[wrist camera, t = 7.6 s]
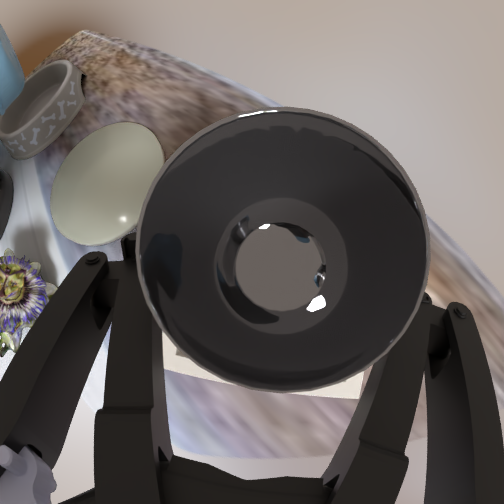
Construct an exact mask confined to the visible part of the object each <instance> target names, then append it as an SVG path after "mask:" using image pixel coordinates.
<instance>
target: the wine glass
mask: <svg viewBox="0 0 504 504" xmlns="http://www.w3.org/2000/svg"><path fill="white" fill-rule="evenodd" d="M135 252H136V262H137V270H138V277H139V281H140V284H141V287H142V291H143V294H144V297H145V300H146V303H147V305H148V307H149V308H150V310H151V312H152V314H153V316H154V318H155V320H156V322H157V323H158V325H159V327H160V328H161V329H162V331H163V332H164V333H165V334H166V336H167V337H168V338H169V339H170V341H171V342H172V343H173V344H174V345H175V347H176V348H177V349H178V350H180V351H181V352H182V353H183V354H184V355H185V356H187V357H188V358H189V359H190V360H191V361H193V362H194V363H195V364H196V365H197V366H199V367H200V368H202V369H204V370H206V371H207V372H209V373H211V374H213V375H215V376H216V377H218V378H220V379H222V380H224V381H227V382H230V383H233V384H236V385H239V386H242V387H245V388H248V389H251V390H258V391H266V392H274V393H294V392H306V391H313V390H317V389H321V388H324V387H328V386H332V385H335V384H338V383H341V382H343V381H345V380H347V379H349V378H351V377H353V376H355V375H357V374H359V373H361V372H363V371H365V370H366V369H367V368H369V367H370V366H371V365H373V364H374V363H375V362H376V361H378V360H379V359H380V358H382V357H383V356H384V355H385V354H387V353H388V351H389V350H390V349H391V348H392V347H393V346H394V345H395V344H396V342H397V341H398V340H399V339H400V338H401V337H402V335H403V334H404V333H405V331H406V330H407V328H408V326H409V325H410V323H411V321H412V320H413V318H414V316H415V314H416V312H417V311H418V309H419V306H420V303H421V300H422V297H423V295H424V292H425V289H426V286H427V280H428V274H429V267H430V234H429V229H428V224H427V219H426V214H425V211H424V208H423V205H422V203H421V200H420V198H419V195H418V193H417V191H416V188H415V187H414V185H413V183H412V181H411V180H410V178H409V177H408V175H407V173H406V172H405V170H404V169H403V167H402V166H401V165H400V164H399V162H398V161H397V160H396V159H395V158H394V157H393V155H392V154H391V153H390V152H389V151H388V150H387V149H386V148H384V146H382V145H381V144H380V143H379V142H378V141H377V140H375V139H374V138H373V137H372V136H370V135H369V134H367V133H366V132H364V131H363V130H361V129H359V128H358V127H356V126H354V125H353V124H351V123H348V122H346V121H344V120H342V119H339V118H337V117H334V116H332V115H329V114H325V113H322V112H318V111H314V110H310V109H303V108H294V107H268V108H260V109H254V110H249V111H244V112H240V113H237V114H234V115H232V116H229V117H226V118H223V119H221V120H219V121H217V122H215V123H213V124H211V125H209V126H207V127H206V128H204V129H202V130H200V131H199V132H197V133H196V134H195V135H194V136H192V137H191V138H190V139H188V140H187V141H186V142H184V143H183V144H182V145H181V146H180V147H179V148H178V149H177V150H176V151H175V152H174V153H173V154H172V155H171V156H170V158H169V159H168V160H167V161H166V162H165V163H164V165H163V166H162V168H161V169H160V171H159V172H158V174H157V175H156V177H155V178H154V180H153V182H152V184H151V186H150V188H149V190H148V193H147V195H146V197H145V199H144V202H143V205H142V209H141V213H140V217H139V221H138V225H137V234H136V249H135Z"/></svg>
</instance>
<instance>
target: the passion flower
mask: <svg viewBox="0 0 504 504" xmlns="http://www.w3.org/2000/svg"><path fill="white" fill-rule="evenodd" d="M24 258H25V255H24ZM29 261H30V259H29ZM29 261H28V262H25V261H24V259H23V258H22V259H18V258H17V259H16V258H15V256H14V253H13V252H12V250H10V249H6V250H5V253H4V256H2V257H0V336H1V339H0V357H3V356H4V355H5V353H6V352H7V350H10V349H11V350H12V351H13V352H14V353H16V352H17V350H18V349H19V347H20V341H21V337H22V329H23V328H24V327H30V328H31V327H32V326H33V324H34V323H35V321H36V319H37V318H38V316H39V315H40V313H41V312H42V310H43V309H44V307H45V306H46V304H47V303H48V302H49V300H50V299H51V297H52V296H53V294H54V293H55V292H56V290H57V289H58V288H57V287H56V286H55V285H54V284H51V283H47V282H45V281H44V280H43V279H42V278H41V275H38V274H39V273H40V271H41V264H40V263H39V262H31V263H29ZM3 342H4V343H5V347H4V348H3V347H2V343H3Z"/></svg>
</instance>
